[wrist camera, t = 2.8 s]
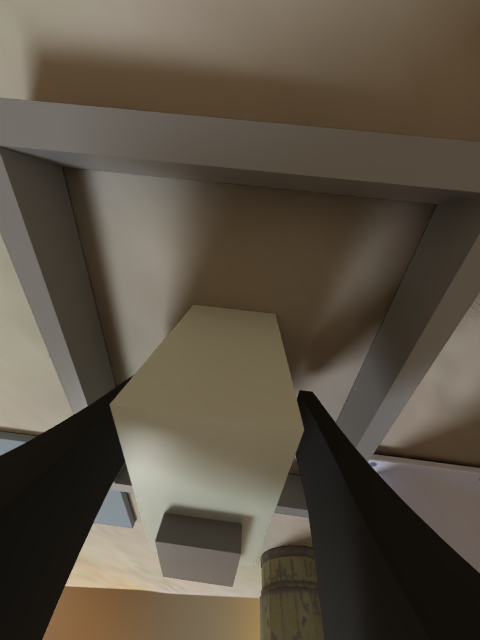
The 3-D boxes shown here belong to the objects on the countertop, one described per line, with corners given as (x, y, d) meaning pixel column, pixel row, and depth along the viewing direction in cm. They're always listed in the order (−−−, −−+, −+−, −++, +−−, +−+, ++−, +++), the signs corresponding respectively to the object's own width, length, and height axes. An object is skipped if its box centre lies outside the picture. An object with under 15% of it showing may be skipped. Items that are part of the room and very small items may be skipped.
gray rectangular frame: (482, 173, 6) (572, 150, 5) (320, 485, 15) (329, 520, 13) (26, 129, 7) (-57, 92, 5) (121, 458, 15) (103, 488, 14)
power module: (275, 313, 9) (312, 462, 3) (254, 423, 13) (253, 594, 7) (194, 303, 9) (86, 432, 3) (194, 415, 13) (142, 577, 7)
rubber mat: (111, 446, 15) (107, 453, 14) (135, 521, 20) (132, 528, 20) (-25, 427, 15) (-34, 434, 14) (35, 507, 20) (30, 513, 20)
